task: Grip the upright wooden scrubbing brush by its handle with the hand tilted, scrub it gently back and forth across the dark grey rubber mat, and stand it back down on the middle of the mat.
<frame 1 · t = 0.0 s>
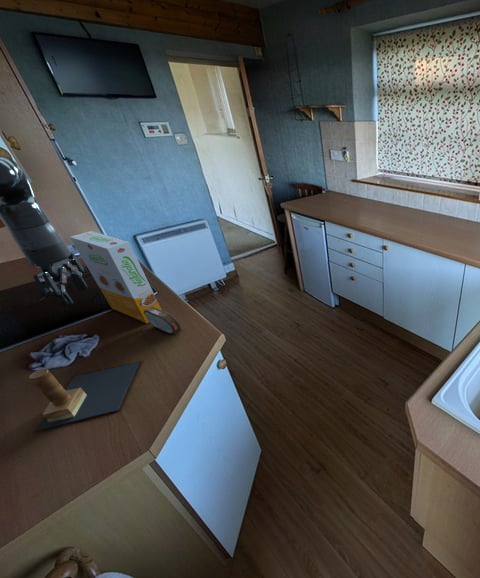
hand: (76, 296, 81), 23 cm above the worktop, tool pointing down, fingers open, 8 cm apart
cereal box: (137, 311, 114), on the worktop
mat: (95, 393, 82), on the worktop
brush: (69, 408, 77), resting on mat
tin: (166, 329, 105), on the worktop
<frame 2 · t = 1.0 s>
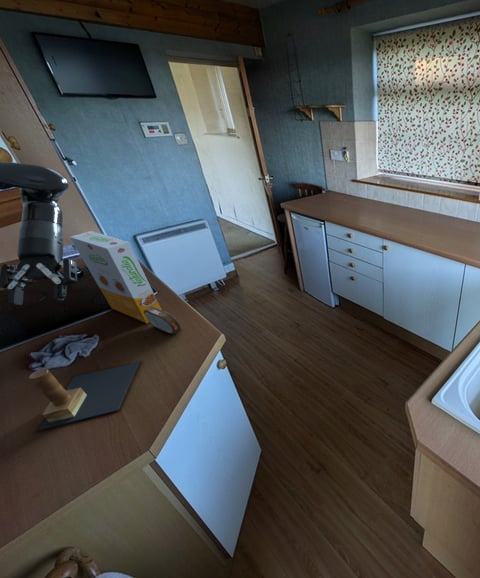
hand: (38, 302, 72), 27 cm above the worktop, tool tilted 45°, fingers open, 8 cm apart
nothing on the worktop moved.
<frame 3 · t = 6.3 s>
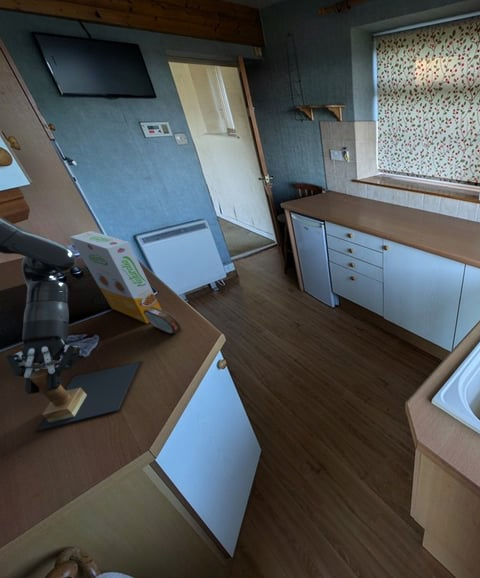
hand: (43, 391, 70), 10 cm above the worktop, tool tilted 45°, fingers closed on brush, 3 cm apart
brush: (69, 408, 77), resting on mat, touching gripper
everything else where it was.
when the fingers open (10 cm above the worktop, at t = 21.4 s): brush drops 1 cm, resting on mat.
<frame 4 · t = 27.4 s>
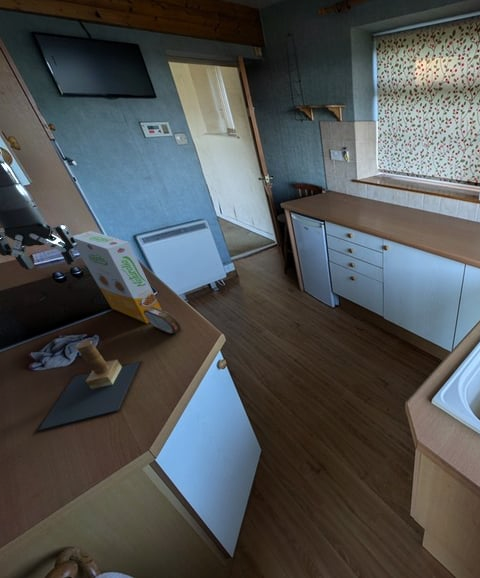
hand: (52, 265, 77), 32 cm above the worktop, tool pointing down, fingers open, 8 cm apart
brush: (107, 377, 86), resting on mat
everything else where it was.
at the end: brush inside the target area (4.0 cm from its centre), resting on mat; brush tilted 0°; the gripper is holding nothing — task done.
